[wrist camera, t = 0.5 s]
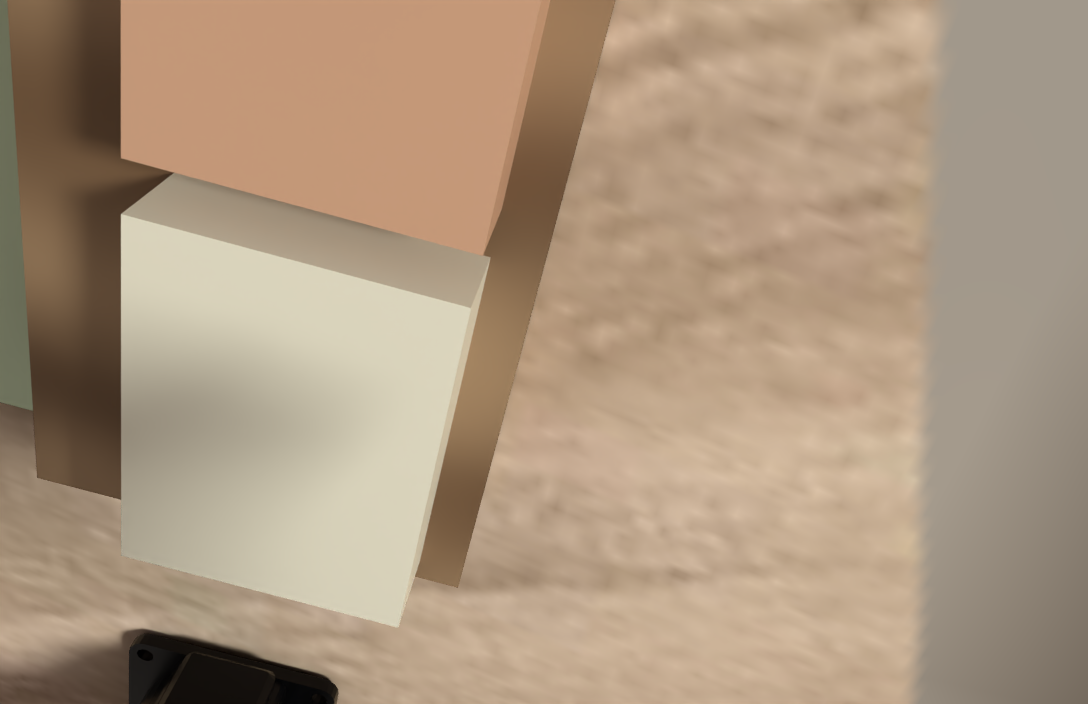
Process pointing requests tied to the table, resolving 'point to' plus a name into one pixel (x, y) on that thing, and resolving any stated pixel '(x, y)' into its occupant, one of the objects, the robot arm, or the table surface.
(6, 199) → the mat
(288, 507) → the ivory block
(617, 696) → the table surface
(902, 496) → the table surface
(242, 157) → the salmon pink brick
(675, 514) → the table surface
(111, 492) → the deck
